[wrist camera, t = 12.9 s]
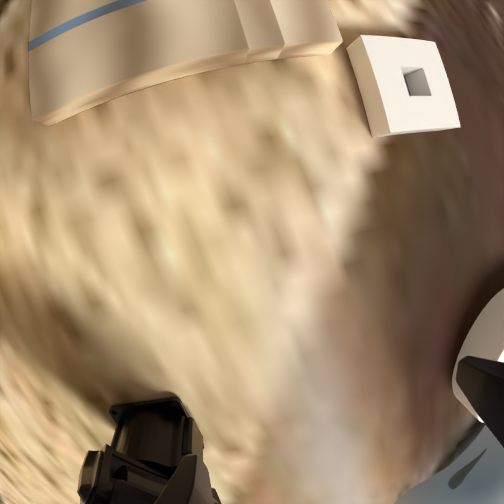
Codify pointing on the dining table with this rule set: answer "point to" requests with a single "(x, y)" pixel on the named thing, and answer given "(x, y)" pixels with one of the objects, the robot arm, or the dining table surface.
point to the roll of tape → (483, 341)
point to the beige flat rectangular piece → (158, 44)
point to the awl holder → (402, 85)
